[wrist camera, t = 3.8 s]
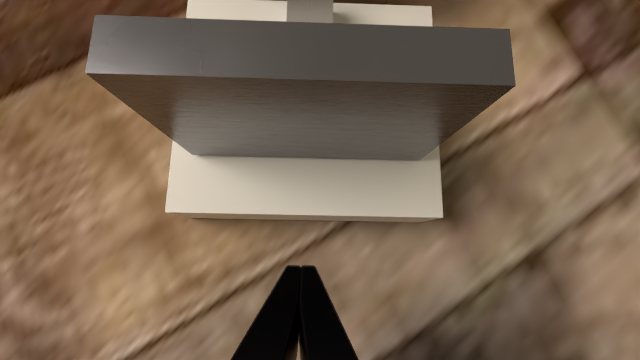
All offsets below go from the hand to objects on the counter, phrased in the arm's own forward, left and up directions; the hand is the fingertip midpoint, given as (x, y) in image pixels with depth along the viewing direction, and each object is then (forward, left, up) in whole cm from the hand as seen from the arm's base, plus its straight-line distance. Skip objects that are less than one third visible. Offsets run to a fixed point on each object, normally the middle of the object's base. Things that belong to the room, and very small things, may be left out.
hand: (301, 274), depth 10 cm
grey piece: (+4, +8, -4) cm, 9 cm away
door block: (+3, +7, -7) cm, 10 cm away
